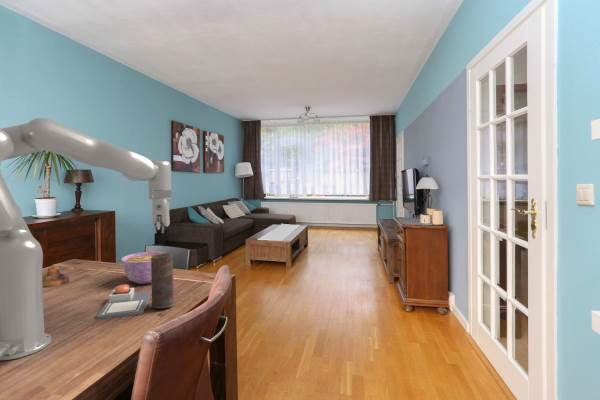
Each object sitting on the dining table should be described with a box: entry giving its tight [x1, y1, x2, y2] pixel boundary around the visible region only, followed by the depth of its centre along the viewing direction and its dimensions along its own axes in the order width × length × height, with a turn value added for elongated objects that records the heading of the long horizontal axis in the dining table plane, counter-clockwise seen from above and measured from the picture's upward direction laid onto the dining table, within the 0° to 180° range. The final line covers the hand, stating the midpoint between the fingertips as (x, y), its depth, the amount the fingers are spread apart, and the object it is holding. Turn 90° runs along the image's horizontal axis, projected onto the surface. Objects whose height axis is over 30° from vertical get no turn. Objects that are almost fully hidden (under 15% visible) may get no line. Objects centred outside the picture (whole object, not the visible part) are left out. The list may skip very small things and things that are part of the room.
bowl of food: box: [120, 251, 166, 285], centre depth 141 cm, size 20×20×12 cm
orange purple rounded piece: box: [42, 266, 70, 288], centre depth 137 cm, size 12×12×7 cm
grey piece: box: [96, 287, 152, 320], centre depth 114 cm, size 20×14×4 cm
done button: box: [114, 284, 130, 295], centre depth 118 cm, size 5×5×2 cm
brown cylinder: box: [151, 252, 175, 310], centre depth 112 cm, size 8×7×20 cm
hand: (161, 241), depth 111 cm, fingers open, 9 cm apart
